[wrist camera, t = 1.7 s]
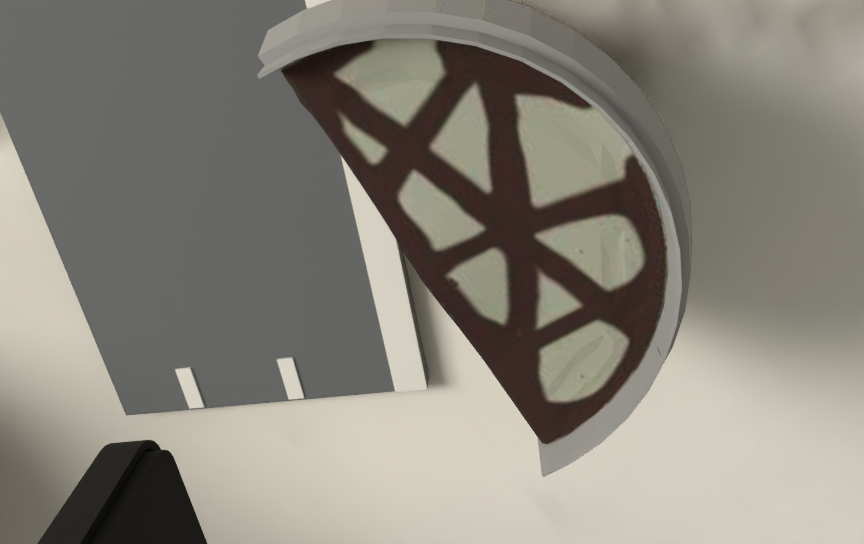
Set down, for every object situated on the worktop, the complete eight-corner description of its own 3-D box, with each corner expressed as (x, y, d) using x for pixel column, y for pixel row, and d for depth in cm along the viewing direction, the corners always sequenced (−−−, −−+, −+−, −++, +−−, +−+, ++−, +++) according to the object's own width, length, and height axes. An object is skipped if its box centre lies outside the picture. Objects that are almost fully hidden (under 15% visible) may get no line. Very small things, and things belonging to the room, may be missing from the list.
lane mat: (318, -156, 23) (313, -156, 22) (428, 378, 31) (427, 389, 30) (-66, -80, 25) (-81, -78, 24) (132, 405, 32) (125, 416, 32)
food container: (707, 210, 27) (804, 391, 18) (541, 292, 29) (554, 492, 20) (519, -148, 22) (523, -145, 14) (338, -24, 24) (238, 51, 15)
